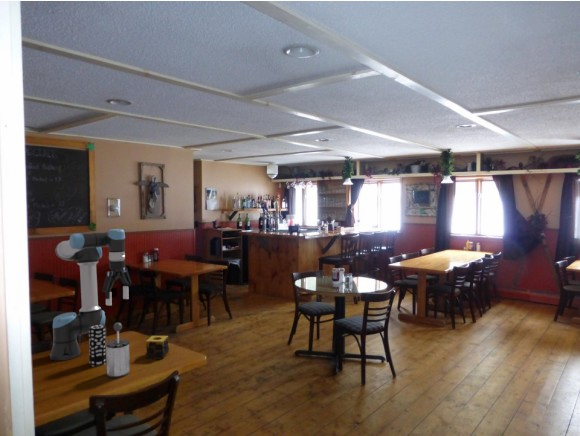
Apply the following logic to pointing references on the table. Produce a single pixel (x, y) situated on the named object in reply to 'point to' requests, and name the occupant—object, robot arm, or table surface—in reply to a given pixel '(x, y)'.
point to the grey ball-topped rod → (117, 329)
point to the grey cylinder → (118, 358)
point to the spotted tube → (97, 345)
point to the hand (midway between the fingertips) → (117, 301)
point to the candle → (157, 347)
